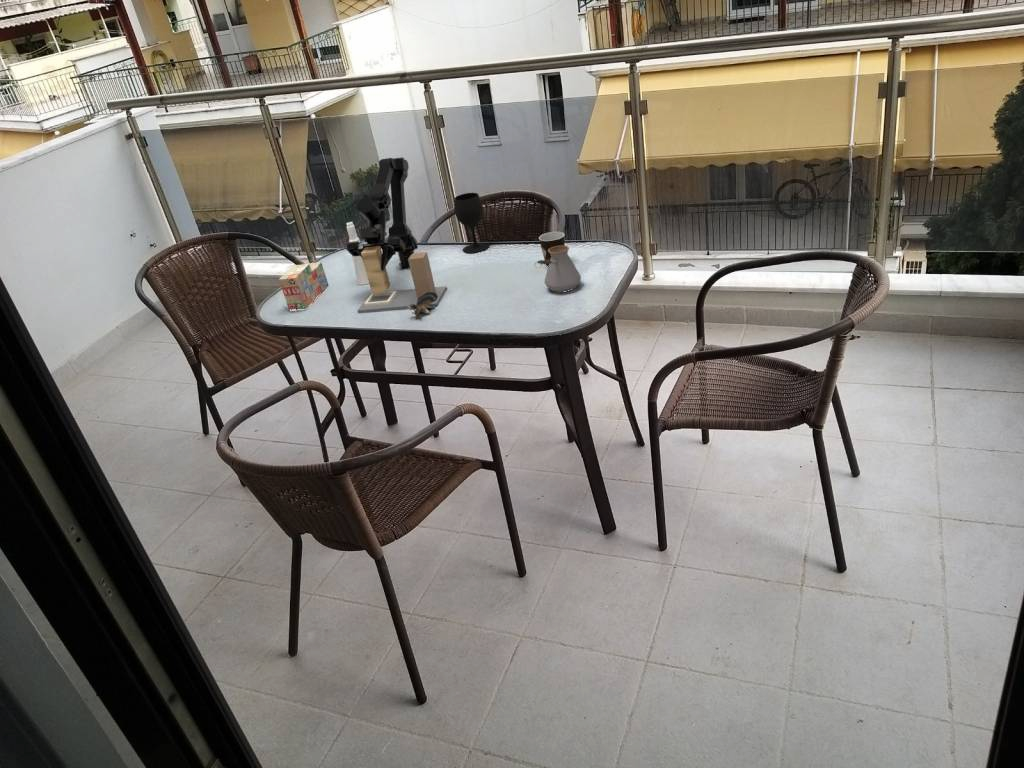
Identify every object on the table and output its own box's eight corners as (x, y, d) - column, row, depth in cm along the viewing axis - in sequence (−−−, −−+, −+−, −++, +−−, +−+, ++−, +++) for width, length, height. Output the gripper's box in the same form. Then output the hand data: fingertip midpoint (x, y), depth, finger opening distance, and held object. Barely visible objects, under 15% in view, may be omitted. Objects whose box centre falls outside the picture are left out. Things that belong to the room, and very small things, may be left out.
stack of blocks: (313, 287, 278) (303, 255, 272) (329, 285, 277) (319, 253, 271) (289, 312, 260) (278, 278, 254) (306, 310, 259) (295, 277, 253)
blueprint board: (371, 295, 261) (360, 254, 254) (447, 288, 255) (437, 246, 248) (358, 313, 249) (346, 270, 242) (436, 306, 243) (426, 262, 236)
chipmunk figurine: (430, 317, 234) (444, 300, 240) (414, 300, 232) (427, 283, 238) (417, 326, 239) (431, 309, 245) (401, 310, 237) (415, 294, 243)
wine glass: (462, 246, 291) (451, 195, 281) (488, 241, 291) (479, 190, 281) (463, 255, 281) (452, 202, 272) (491, 250, 282) (481, 197, 272)
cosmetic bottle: (358, 286, 271) (341, 227, 260) (356, 281, 276) (339, 222, 265) (375, 282, 272) (359, 222, 261) (372, 277, 277) (356, 218, 266)
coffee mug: (568, 267, 255) (565, 238, 250) (543, 270, 255) (538, 242, 251) (567, 255, 265) (563, 227, 260) (542, 258, 266) (538, 231, 261)
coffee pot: (554, 279, 247) (547, 235, 240) (587, 280, 242) (581, 235, 235) (526, 308, 231) (519, 261, 224) (561, 309, 226) (555, 262, 219)
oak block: (376, 286, 257) (365, 247, 250) (390, 285, 256) (380, 245, 249) (371, 292, 252) (360, 253, 245) (386, 291, 251) (375, 251, 244)
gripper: (340, 219, 248) (337, 263, 244) (394, 213, 244) (392, 258, 240) (354, 234, 258) (352, 277, 254) (406, 228, 254) (405, 271, 250)
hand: (374, 270), depth 249 cm, fingers closed on oak block, 5 cm apart
